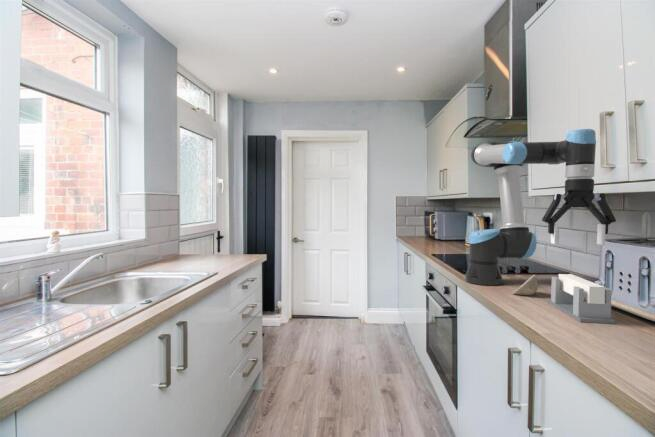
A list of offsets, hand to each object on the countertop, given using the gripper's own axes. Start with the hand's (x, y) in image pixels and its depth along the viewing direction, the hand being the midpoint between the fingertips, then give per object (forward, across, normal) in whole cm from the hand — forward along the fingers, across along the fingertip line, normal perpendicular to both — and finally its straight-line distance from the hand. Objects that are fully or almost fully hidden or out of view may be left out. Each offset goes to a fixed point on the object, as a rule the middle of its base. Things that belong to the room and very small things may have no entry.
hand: (577, 244), depth 109 cm
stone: (+22, -9, +17) cm, 29 cm away
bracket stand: (+22, -1, -3) cm, 22 cm away
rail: (+16, -1, -4) cm, 16 cm away
